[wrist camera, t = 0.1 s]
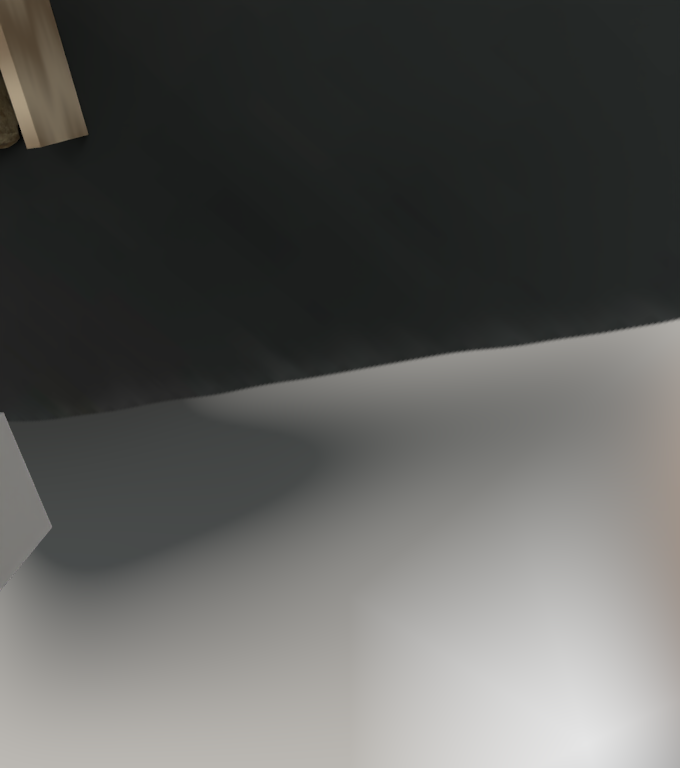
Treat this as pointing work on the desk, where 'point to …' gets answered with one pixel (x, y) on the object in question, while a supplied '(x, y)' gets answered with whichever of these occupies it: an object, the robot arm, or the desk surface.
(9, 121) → the stone block
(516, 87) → the desk surface
